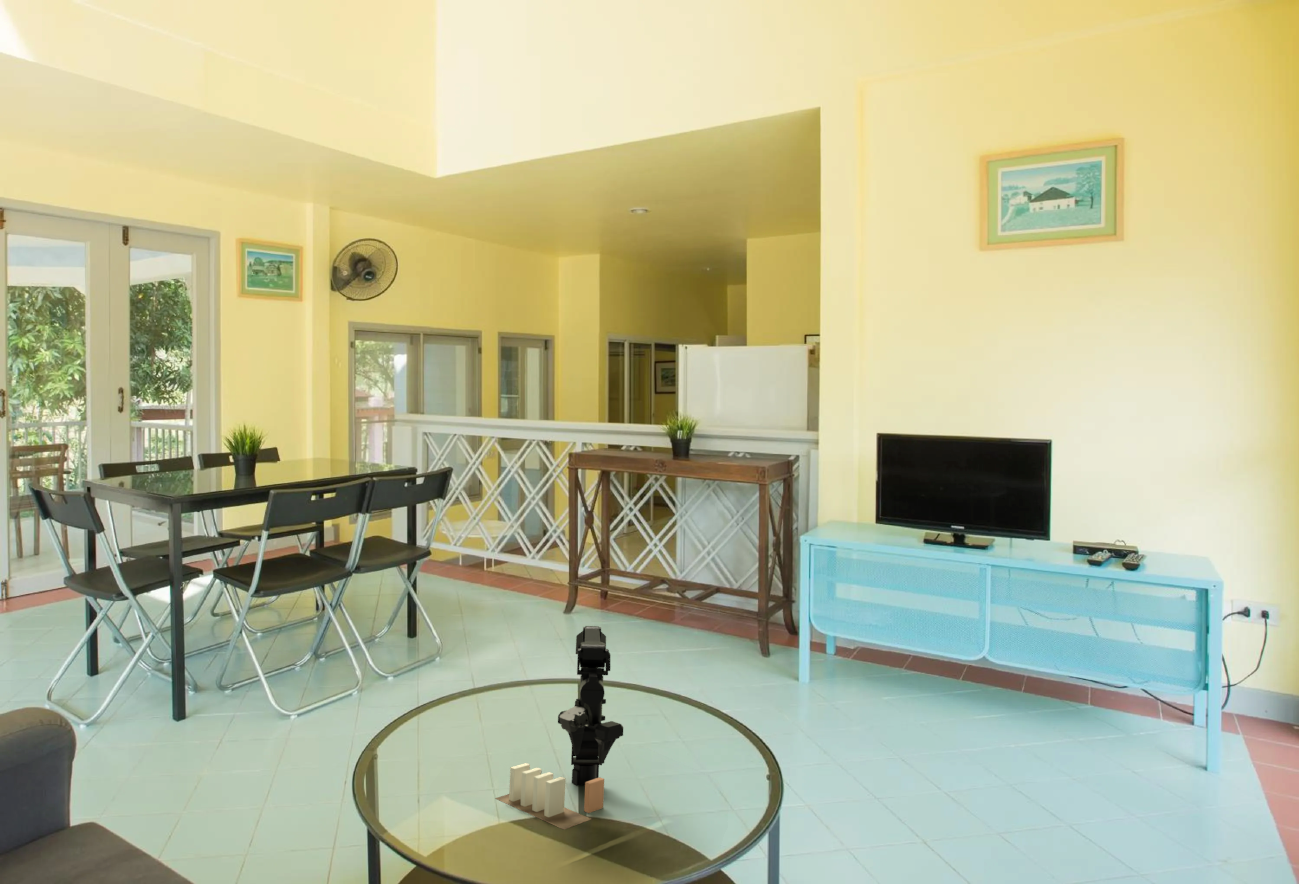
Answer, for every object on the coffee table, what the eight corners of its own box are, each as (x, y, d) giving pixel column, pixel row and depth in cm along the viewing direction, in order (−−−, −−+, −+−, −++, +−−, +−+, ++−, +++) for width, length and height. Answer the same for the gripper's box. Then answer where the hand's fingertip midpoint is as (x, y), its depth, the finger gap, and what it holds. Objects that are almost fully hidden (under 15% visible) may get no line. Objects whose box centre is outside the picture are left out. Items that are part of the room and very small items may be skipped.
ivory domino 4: (544, 815, 195) (545, 781, 195) (559, 809, 199) (561, 776, 199) (548, 817, 194) (550, 783, 194) (564, 811, 198) (565, 778, 198)
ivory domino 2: (520, 804, 201) (522, 771, 201) (536, 799, 205) (537, 767, 205) (524, 806, 200) (526, 773, 200) (540, 801, 203) (541, 768, 204)
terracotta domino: (583, 815, 198) (585, 781, 199) (598, 809, 202) (599, 777, 203) (588, 817, 197) (589, 783, 198) (602, 811, 201) (604, 778, 202)
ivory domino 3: (532, 809, 198) (533, 776, 198) (547, 804, 202) (549, 771, 202) (536, 811, 197) (537, 778, 197) (551, 806, 200) (553, 773, 201)
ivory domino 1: (508, 799, 204) (510, 767, 204) (524, 794, 208) (525, 762, 208) (512, 801, 203) (514, 768, 203) (528, 796, 207) (529, 764, 207)
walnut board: (494, 802, 204) (494, 798, 205) (522, 793, 211) (522, 789, 211) (563, 833, 187) (563, 829, 187) (591, 823, 194) (591, 818, 194)
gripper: (542, 692, 202) (539, 756, 201) (591, 708, 189) (589, 776, 188) (576, 686, 210) (573, 747, 209) (626, 700, 197) (623, 766, 196)
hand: (588, 758), depth 201 cm, fingers open, 9 cm apart
